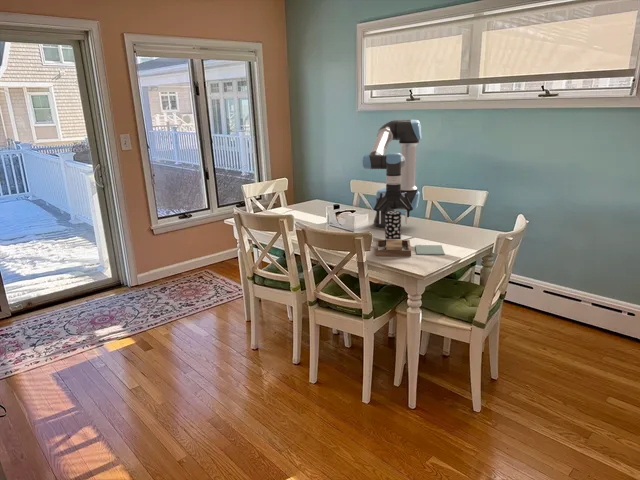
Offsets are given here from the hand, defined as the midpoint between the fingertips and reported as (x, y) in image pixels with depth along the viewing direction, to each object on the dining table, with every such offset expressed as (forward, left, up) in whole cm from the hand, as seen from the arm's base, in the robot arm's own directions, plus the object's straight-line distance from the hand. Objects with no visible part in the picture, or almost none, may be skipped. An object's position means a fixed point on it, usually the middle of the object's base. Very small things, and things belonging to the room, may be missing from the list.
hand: (393, 223), depth 235 cm
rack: (+3, 0, -14) cm, 14 cm away
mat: (+2, +19, -14) cm, 24 cm away
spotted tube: (0, 0, -14) cm, 14 cm away
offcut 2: (+8, +1, -12) cm, 14 cm away
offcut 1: (+8, +1, -10) cm, 12 cm away
